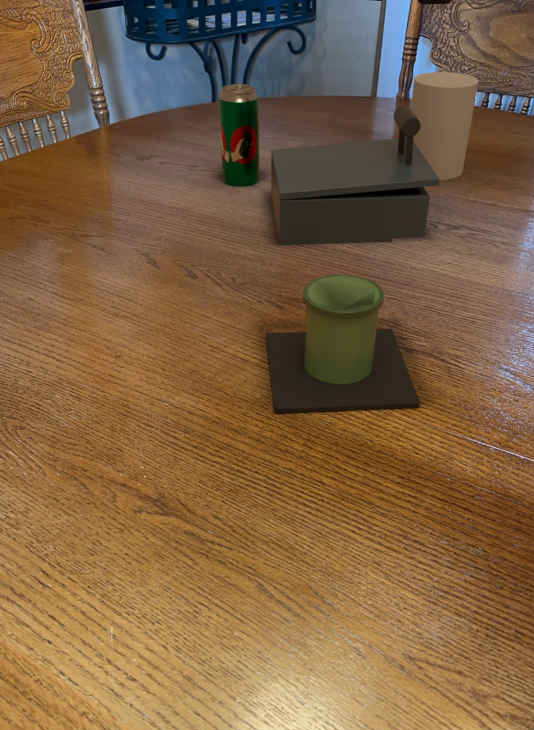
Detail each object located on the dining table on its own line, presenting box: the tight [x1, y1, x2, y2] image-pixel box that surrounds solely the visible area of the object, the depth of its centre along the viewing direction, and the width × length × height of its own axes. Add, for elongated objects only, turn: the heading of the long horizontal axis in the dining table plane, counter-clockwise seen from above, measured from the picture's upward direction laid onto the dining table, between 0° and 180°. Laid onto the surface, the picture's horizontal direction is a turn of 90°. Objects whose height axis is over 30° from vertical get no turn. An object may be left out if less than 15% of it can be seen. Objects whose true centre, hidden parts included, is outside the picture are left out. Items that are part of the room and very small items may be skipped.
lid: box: [270, 104, 440, 200], centre depth 80 cm, size 17×15×6 cm
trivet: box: [265, 328, 421, 415], centre depth 62 cm, size 12×12×1 cm
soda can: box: [218, 83, 261, 188], centre depth 92 cm, size 5×5×12 cm
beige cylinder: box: [410, 71, 479, 181], centre depth 94 cm, size 8×8×12 cm
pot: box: [302, 274, 385, 384], centre depth 59 cm, size 7×7×7 cm
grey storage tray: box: [270, 156, 431, 246], centre depth 84 cm, size 17×15×6 cm
